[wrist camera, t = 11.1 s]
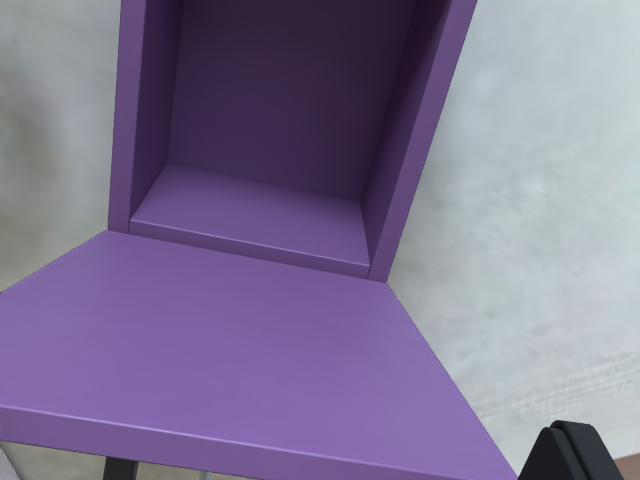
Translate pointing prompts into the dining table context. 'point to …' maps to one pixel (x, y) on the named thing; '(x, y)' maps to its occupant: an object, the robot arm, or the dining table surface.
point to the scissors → (6, 468)
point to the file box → (279, 124)
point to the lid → (229, 370)
